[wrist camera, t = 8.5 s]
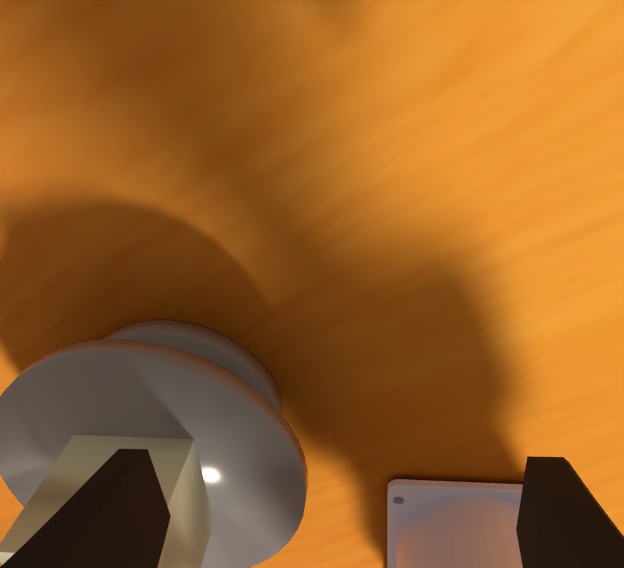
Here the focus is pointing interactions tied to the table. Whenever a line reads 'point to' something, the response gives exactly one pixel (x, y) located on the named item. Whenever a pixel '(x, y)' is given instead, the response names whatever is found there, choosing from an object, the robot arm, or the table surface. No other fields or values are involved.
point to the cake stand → (168, 425)
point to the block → (172, 477)
